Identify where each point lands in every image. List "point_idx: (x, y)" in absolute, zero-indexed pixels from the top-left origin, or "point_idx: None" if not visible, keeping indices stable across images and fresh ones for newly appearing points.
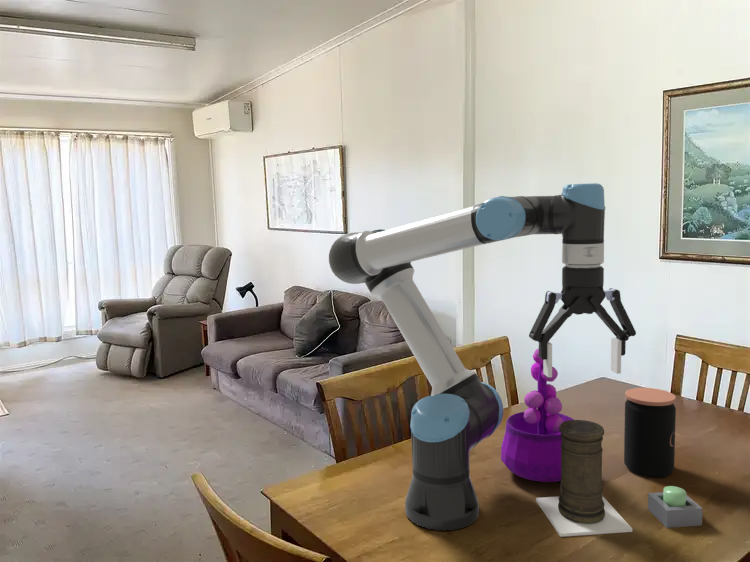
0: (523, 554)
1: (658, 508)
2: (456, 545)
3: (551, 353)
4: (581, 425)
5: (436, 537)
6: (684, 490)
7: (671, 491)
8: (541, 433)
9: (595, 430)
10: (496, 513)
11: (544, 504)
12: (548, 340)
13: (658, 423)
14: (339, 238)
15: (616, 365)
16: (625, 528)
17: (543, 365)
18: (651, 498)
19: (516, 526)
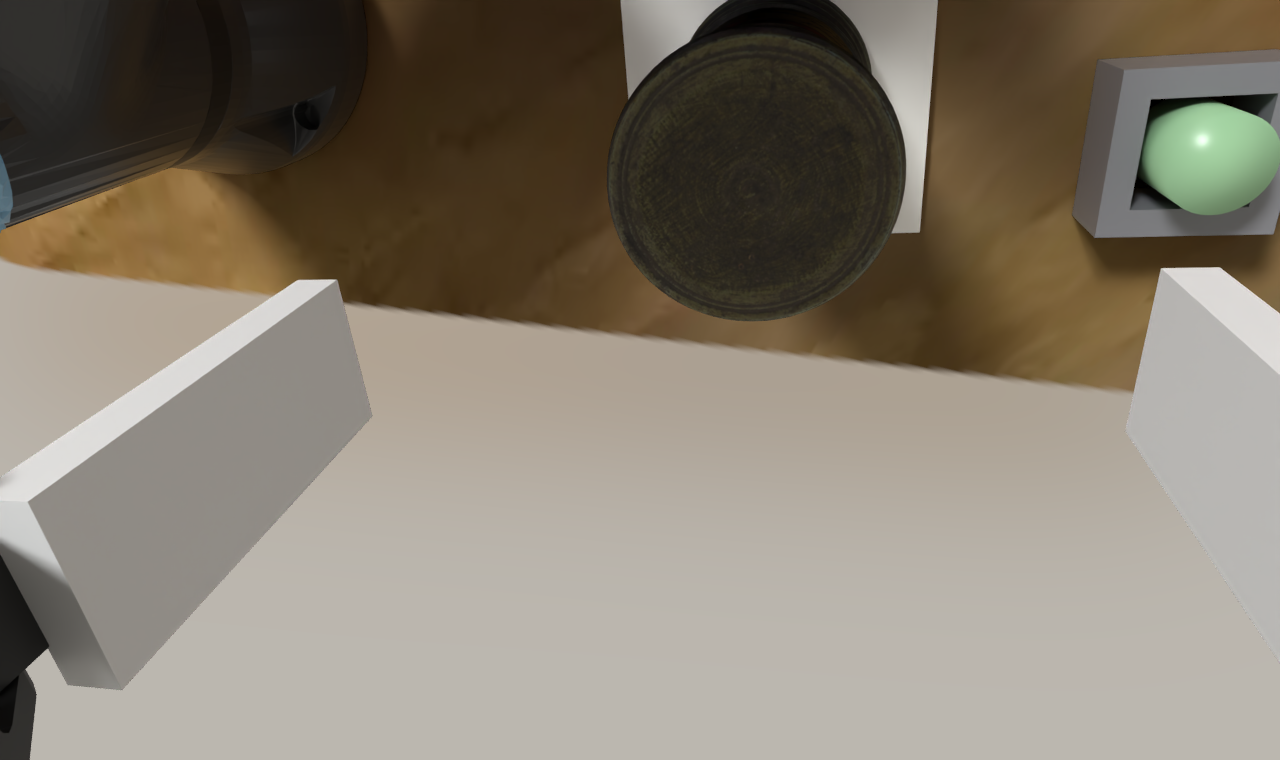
0: (501, 316)
1: (1098, 162)
2: (302, 248)
3: (209, 586)
4: (760, 163)
5: (236, 197)
6: (1276, 165)
7: (1200, 169)
8: None
9: (814, 267)
10: (437, 45)
11: (638, 6)
12: (19, 726)
13: None
14: None
15: (1169, 467)
16: (893, 228)
17: (243, 319)
18: (1114, 103)
19: (502, 151)
